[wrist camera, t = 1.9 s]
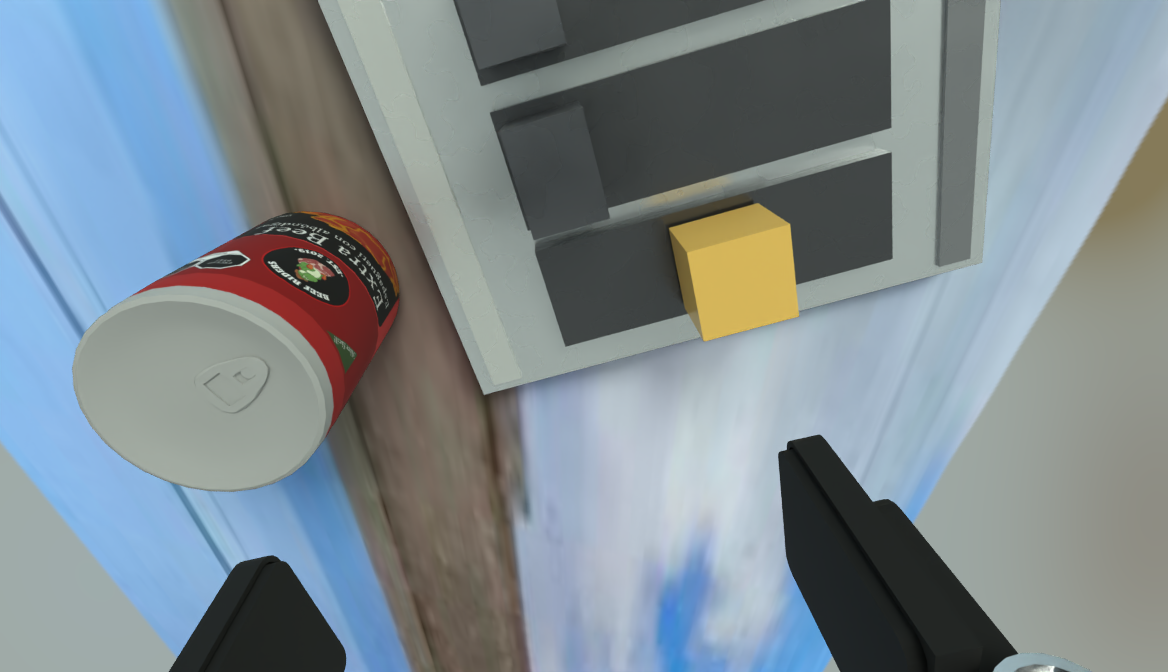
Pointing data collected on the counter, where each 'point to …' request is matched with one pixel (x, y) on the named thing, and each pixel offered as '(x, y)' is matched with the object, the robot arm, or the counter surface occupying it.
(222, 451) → the canned food
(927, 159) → the panel
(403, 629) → the counter surface
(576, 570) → the counter surface
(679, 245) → the mustard yellow cube
